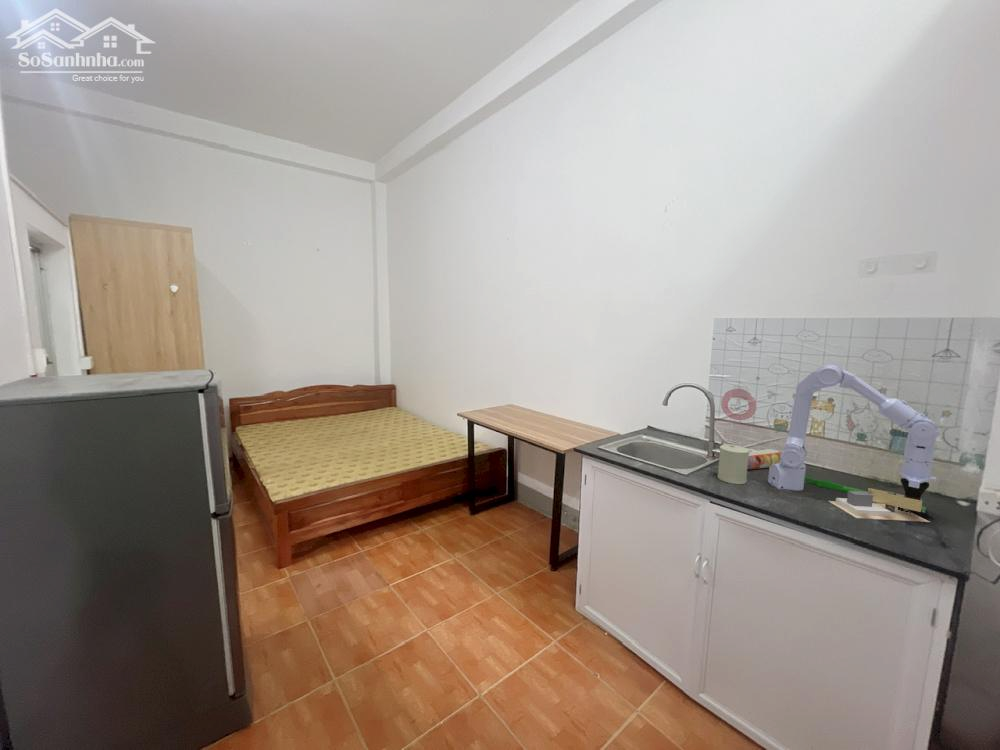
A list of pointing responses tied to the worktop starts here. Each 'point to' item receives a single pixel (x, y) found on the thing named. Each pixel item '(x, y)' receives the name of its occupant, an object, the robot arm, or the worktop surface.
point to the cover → (862, 504)
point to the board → (895, 515)
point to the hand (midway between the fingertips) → (911, 504)
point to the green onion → (836, 486)
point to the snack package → (763, 458)
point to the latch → (896, 499)
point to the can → (733, 464)
